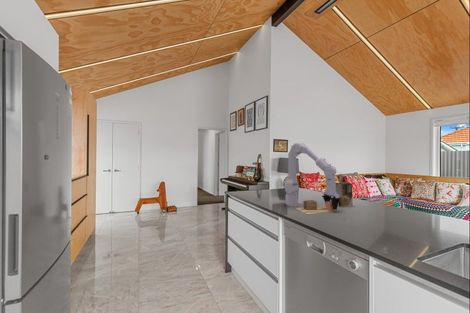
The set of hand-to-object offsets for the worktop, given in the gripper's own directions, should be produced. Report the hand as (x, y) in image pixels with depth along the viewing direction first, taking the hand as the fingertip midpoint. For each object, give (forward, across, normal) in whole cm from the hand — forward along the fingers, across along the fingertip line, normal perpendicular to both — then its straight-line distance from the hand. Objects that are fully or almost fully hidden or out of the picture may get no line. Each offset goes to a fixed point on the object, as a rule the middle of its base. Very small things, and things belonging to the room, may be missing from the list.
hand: (331, 207), depth 152 cm
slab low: (+1, +6, +11) cm, 13 cm away
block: (+1, 0, 0) cm, 1 cm away
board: (+2, +4, +8) cm, 9 cm away
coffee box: (+2, +8, -14) cm, 16 cm away
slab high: (-1, +6, +11) cm, 13 cm away
